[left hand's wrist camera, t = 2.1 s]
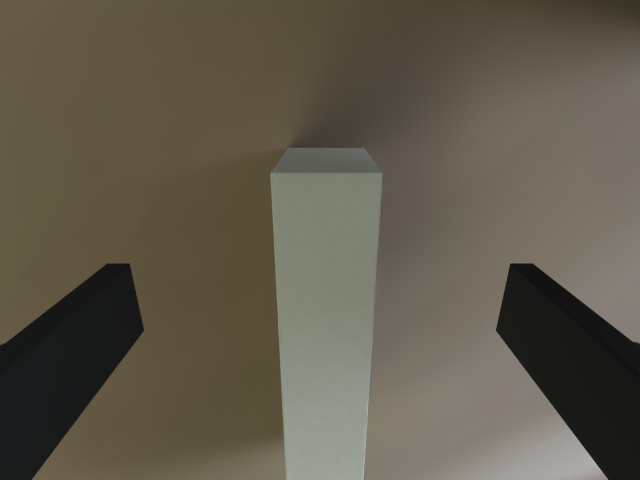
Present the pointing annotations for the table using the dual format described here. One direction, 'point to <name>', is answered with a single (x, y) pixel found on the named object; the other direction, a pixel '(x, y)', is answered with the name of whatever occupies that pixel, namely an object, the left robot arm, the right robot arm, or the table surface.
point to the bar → (325, 305)
